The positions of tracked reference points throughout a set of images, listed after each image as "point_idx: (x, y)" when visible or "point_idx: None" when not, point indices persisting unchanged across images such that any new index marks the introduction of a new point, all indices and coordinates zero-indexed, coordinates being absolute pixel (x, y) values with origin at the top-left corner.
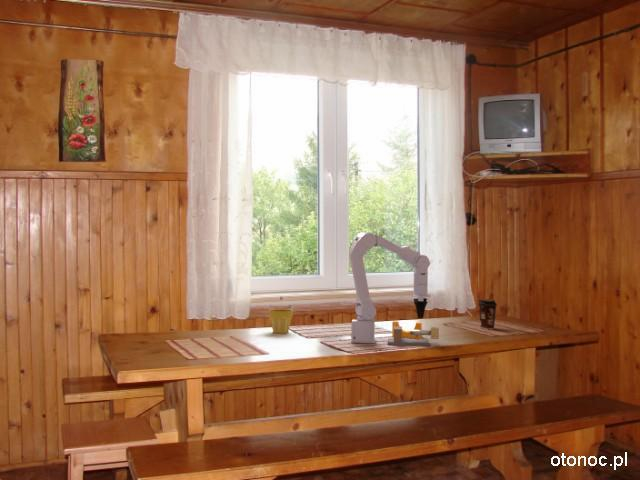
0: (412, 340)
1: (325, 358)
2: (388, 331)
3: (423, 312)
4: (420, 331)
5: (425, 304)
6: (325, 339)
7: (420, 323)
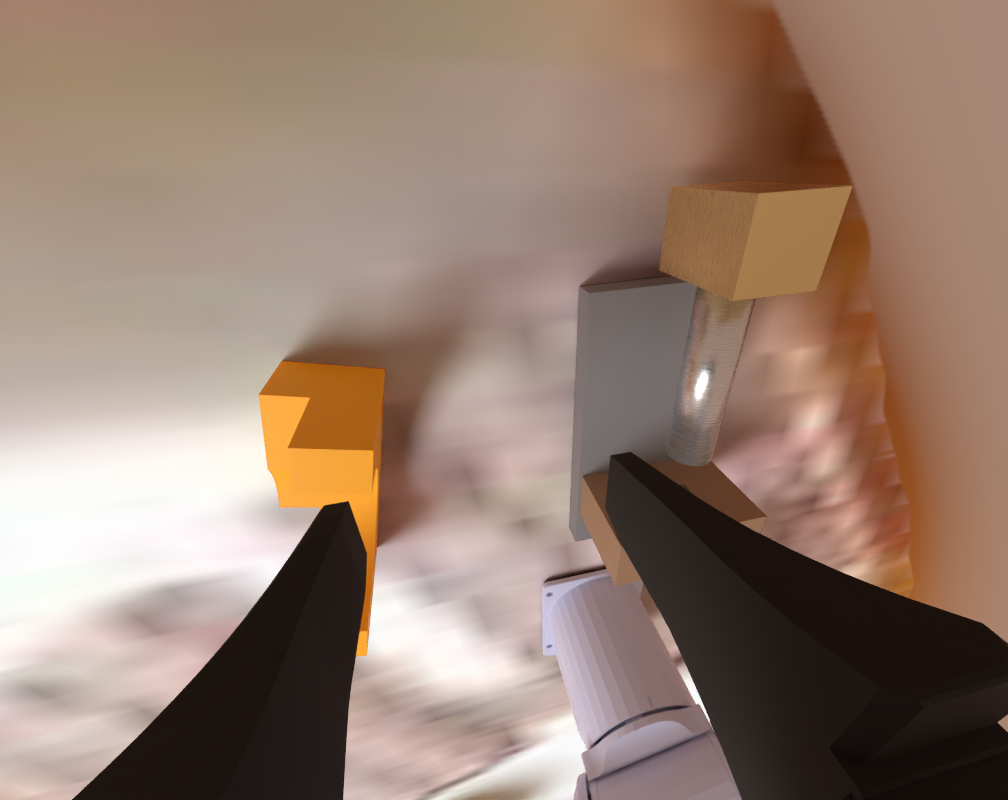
0: (645, 403)
1: (906, 594)
2: (147, 615)
3: (699, 507)
4: (732, 381)
5: (923, 623)
6: (553, 706)
7: (369, 449)
